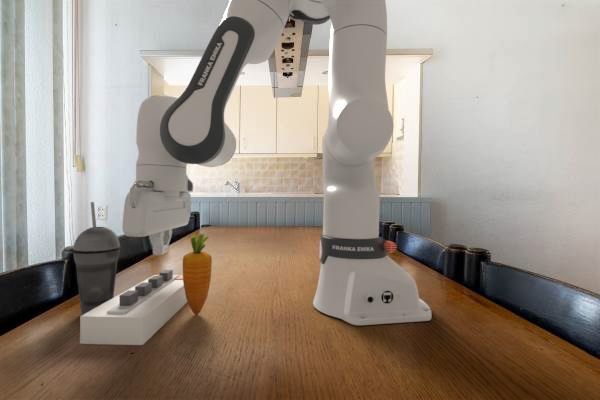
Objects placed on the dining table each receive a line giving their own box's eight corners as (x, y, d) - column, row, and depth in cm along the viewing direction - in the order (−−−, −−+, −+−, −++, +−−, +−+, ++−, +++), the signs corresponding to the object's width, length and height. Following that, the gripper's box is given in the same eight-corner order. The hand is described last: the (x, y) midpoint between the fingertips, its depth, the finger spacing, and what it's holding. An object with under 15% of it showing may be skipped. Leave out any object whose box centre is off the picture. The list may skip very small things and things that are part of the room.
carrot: (182, 311, 56) (183, 230, 55) (210, 308, 57) (211, 230, 57) (180, 322, 51) (181, 234, 51) (211, 319, 52) (212, 233, 52)
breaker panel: (195, 294, 65) (195, 266, 65) (142, 345, 43) (143, 303, 43) (154, 293, 65) (154, 265, 65) (80, 343, 43) (80, 302, 43)
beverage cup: (96, 323, 50) (97, 203, 49) (60, 318, 51) (61, 202, 51) (129, 307, 57) (130, 202, 56) (97, 303, 58) (98, 201, 58)
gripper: (151, 180, 47) (150, 267, 48) (196, 184, 68) (195, 245, 68) (111, 179, 47) (110, 266, 48) (168, 183, 68) (167, 244, 68)
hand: (160, 253), depth 58 cm, fingers closed
